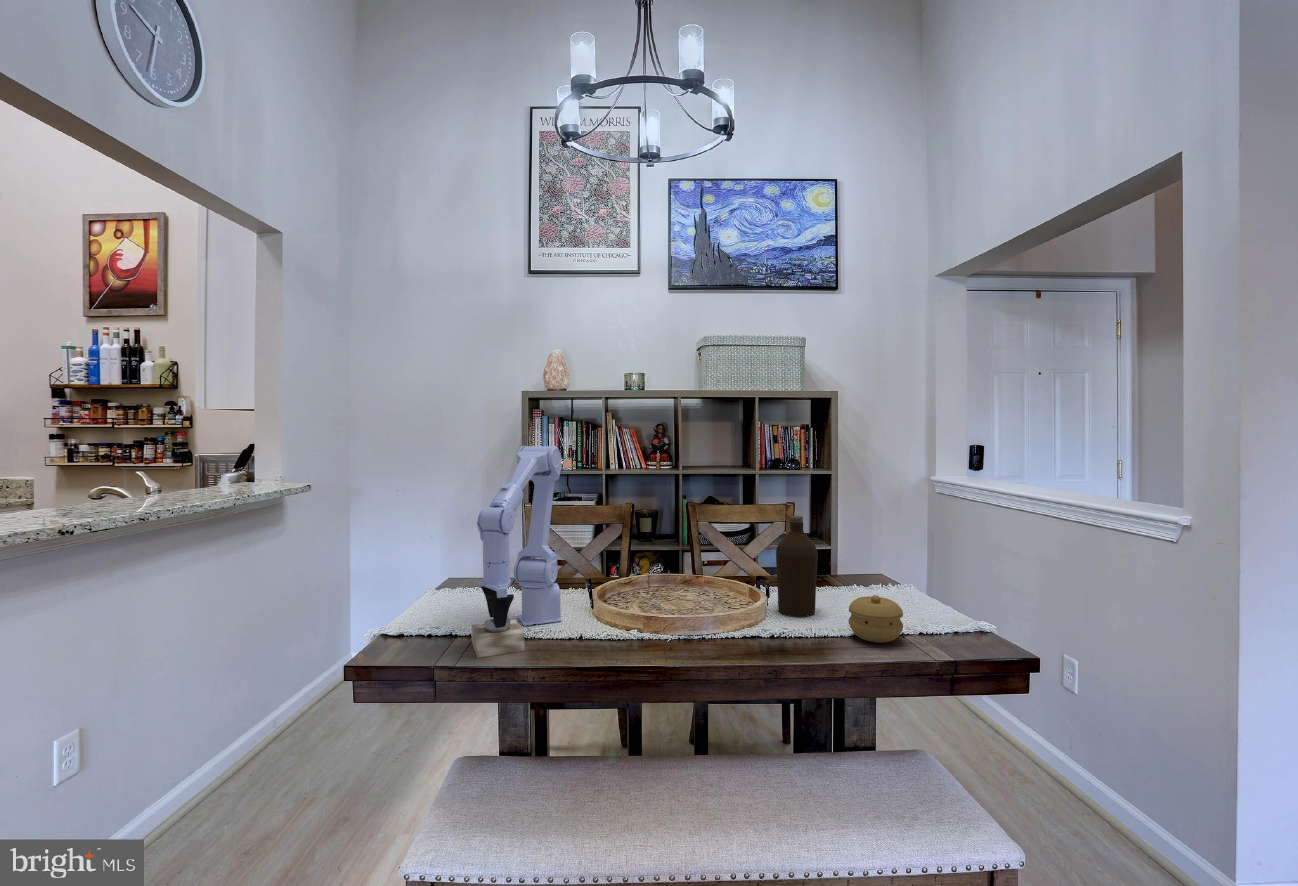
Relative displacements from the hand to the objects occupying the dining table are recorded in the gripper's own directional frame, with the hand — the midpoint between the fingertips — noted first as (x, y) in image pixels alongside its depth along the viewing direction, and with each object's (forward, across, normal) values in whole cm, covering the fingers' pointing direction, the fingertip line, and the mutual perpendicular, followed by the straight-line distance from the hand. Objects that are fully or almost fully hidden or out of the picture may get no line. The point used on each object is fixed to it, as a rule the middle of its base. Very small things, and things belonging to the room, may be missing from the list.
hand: (497, 621), depth 137 cm
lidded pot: (+6, +30, +80) cm, 86 cm away
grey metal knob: (+5, 0, 0) cm, 5 cm away
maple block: (+6, 0, 0) cm, 6 cm away
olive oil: (+6, +6, +76) cm, 76 cm away
